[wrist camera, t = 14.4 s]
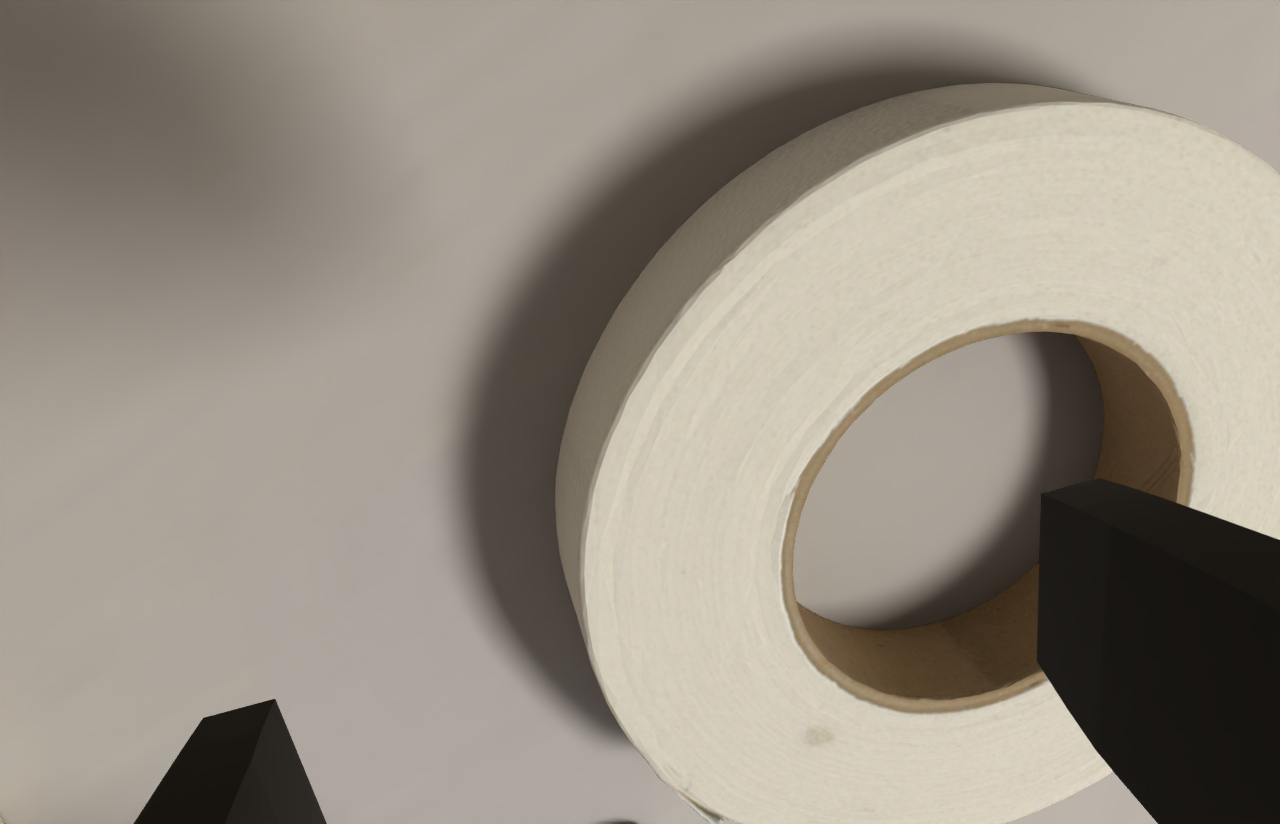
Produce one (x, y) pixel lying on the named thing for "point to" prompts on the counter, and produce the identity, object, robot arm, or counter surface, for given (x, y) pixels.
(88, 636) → the counter surface
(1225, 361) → the roll of tape
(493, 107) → the counter surface
